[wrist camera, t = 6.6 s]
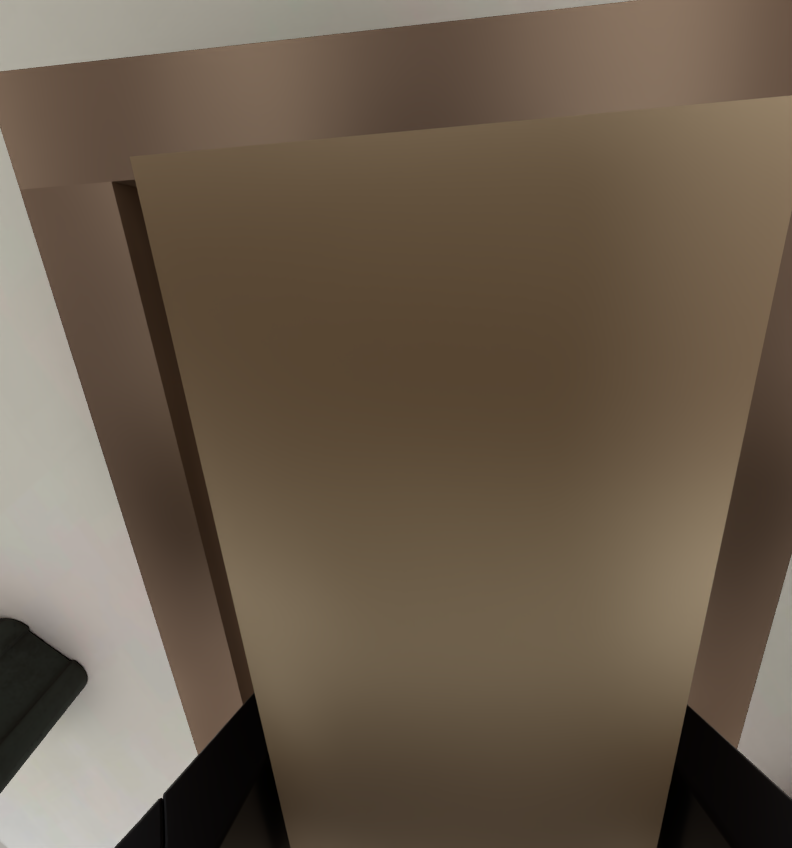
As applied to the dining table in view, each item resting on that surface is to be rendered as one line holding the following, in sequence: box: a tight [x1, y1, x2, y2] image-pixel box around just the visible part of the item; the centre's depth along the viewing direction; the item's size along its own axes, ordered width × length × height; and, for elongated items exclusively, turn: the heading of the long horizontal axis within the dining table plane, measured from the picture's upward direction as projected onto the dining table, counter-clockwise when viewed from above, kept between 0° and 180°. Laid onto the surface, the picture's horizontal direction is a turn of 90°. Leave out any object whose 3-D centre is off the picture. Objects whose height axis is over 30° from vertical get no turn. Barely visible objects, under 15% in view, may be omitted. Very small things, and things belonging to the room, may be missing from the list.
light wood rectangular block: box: [130, 95, 792, 848], centre depth 8 cm, size 16×5×4 cm, turn 4°
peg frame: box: [0, 0, 792, 755], centre depth 14 cm, size 17×22×5 cm
